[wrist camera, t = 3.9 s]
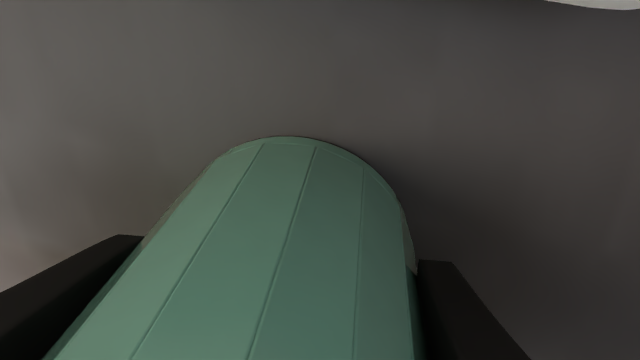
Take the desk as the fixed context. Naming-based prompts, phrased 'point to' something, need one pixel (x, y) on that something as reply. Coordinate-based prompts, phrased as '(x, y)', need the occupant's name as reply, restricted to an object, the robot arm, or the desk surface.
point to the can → (604, 4)
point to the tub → (265, 267)
